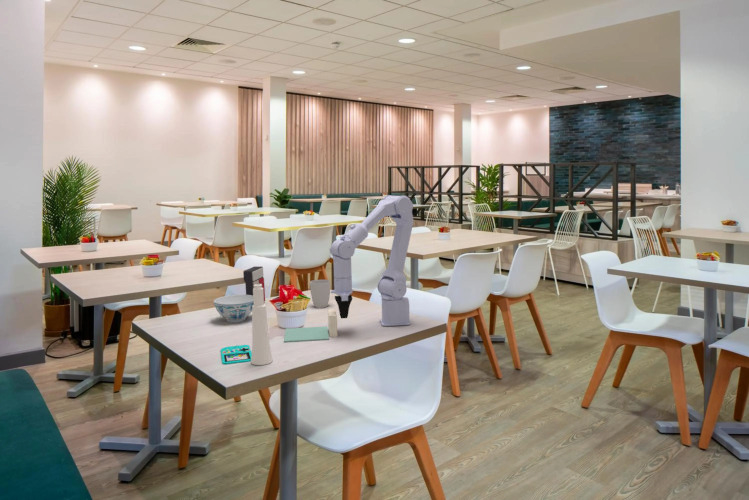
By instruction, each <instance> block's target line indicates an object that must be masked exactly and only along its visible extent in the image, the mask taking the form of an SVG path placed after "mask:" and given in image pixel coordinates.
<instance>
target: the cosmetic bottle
mask: <svg viewBox="0 0 749 500" xmlns="http://www.w3.org/2000/svg"><path fill="white" fill-rule="evenodd" d="M253 300H254V305H253V306H252V312H251V313H252V314H251V318H252V319H251V320H252V321H251V322H252V323H251V325H252V328H251V330H252V332H251V333H252V337H251V338H252V339H251V342H252V343H251V345H252V346H251V349H252V350H251V353H252V357H251V361H250V363H251V364H252V365H254V366H265V365H268V364H269V365H270V364H271V363H273V361H274V359H273V354H272V350H271V344H270V335H269V334H270V333H269V324H268V323H269V322H268V315H267V306H266V304H265V302H264V295H263V288H262V284H255V285H254V288H253Z"/></svg>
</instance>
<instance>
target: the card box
mask: <svg viewBox="0 0 749 500" xmlns="http://www.w3.org/2000/svg"><path fill="white" fill-rule="evenodd" d="M327 315H328V316H327V317H328V318H327V319H328V320H327V321H328V323H327V324H328V335H329V338H335V337H338V315H337V310H336V309H327Z"/></svg>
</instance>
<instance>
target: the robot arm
mask: <svg viewBox="0 0 749 500" xmlns="http://www.w3.org/2000/svg"><path fill="white" fill-rule="evenodd" d="M413 208H414V204H413V202H412V200H411V199H410V198H409V196H407V195H390V194H387V195H385V196H384V197H383V198H382V199H381V200H379V202H378V204H377V206H375V208H374V209H373V210H371V212H370V213H369V214H368V215H367V216H366V217H365V218H364V219H363V220H362V221H361V223H354V224H351V225H350V226H349V227H350V229H349V230H347V231H346V232H345V234H342V235H340V238H339V239H336V240H334V241H333V242H332V243H331V246H330V248H329V253H330V254H331V256H332V260H333V261H332V262H333V287H334V289H330V294H335V296H334V300H335V302H336V305H337V307H338V311H339V316H340V319H348V318H349V317H348V316H349V313H350V312H349V311H350V305H351V302H352V301H353V295H352V294H353V292H354V291H353V285H352V284H353V282H352V281H353V280H352V257H353V256H354V254H355V252H356V249H357V247H358V246H360V244H361V243H362V242H363V241H364V240H366V239H367V238H368V236H369V231H370V230H371V229H372V228H373V227H375V225H377V224H378V223H379V222H380V221H381V220H383V219H384V218H385V217H390V218H392V220H393V221H394V223H395V224H396V226H395V230H394V235H393V239H392V243H391V244H392V245H391V249H390V253H389V254H390V255H389V260H388V263H387V268H386V269H385V270H384V271H383V272H382V273H381V278H380V279H379V280H378V282H377V285H376V287H377V291H378V292H379V293H380V297H381V318H380V319H379V322H380V324H381V326H382V327H391V326H392V327H393V326H410V325H411V323H410V321H411V320H410V300H409V298H408V297H405V295H406V293H407V276H406V275H405V273H404V267H405V263H406V259H407V255H408V249H409V244H410V240H411V236H412V231H413V225H414V217H413Z"/></svg>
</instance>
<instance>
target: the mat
mask: <svg viewBox="0 0 749 500" xmlns="http://www.w3.org/2000/svg"><path fill="white" fill-rule="evenodd" d="M328 340H330V336H329V327H328V326H326V325H325V326H312V327H309V326H308V327H296V328H295V327H294V328H293V327H292V328H291V327H290V328H285V332H284V337H283V343H293V342H295V343H299V342H310V341H311V342H312V341H328Z"/></svg>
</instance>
